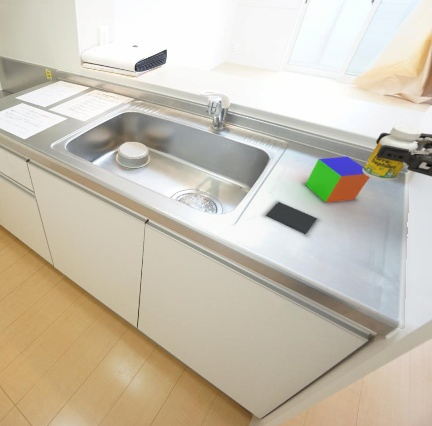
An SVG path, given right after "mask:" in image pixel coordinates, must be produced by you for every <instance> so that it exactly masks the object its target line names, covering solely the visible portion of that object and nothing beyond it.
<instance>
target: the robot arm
mask: <svg viewBox="0 0 432 426" xmlns="http://www.w3.org/2000/svg"><path fill="white" fill-rule="evenodd" d="M388 135H390V132H389V133H388V132H382V133H380V134H379V136H378V137H377V139H376V141H375V142H376V145H378V143H379V141H380V140H381V139H382V138H383V137H385V136H388ZM415 141H416V142H417V145H418V147H417V149H416V150H411V151H410V152H409V149H404V148H398V147H393V146H387V145H383V146H382V147H381V148H380V149H379V151H378V152H377V157H379V158H384V159H389V160H394V161H399V162H402V164H403V165H404V166H406V167H407V168H406V169H407V170H408V171H410V172H414V173H418V174H421V175H425V176H428V177H432V133H423V132H422V134H421V135H420V137H419V138H418V139H417V140H415ZM423 149H424V150H423Z"/></svg>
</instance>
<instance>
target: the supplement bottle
mask: <svg viewBox="0 0 432 426" xmlns="http://www.w3.org/2000/svg"><path fill="white" fill-rule="evenodd" d="M422 133H423V130H422V129H420V128H419V127H415V126H412V125H406V124H396V125H394V126H393V127H392V128H391V130H390V131H389V134H390V135H388V136H385V137H383V138H382V139H381V140H380V141H379V143H378V144H376V146H375V148H374V149H373V151H372V152H371V154H370V156H369V157H368V159H367V160H366V162H365V163H364V166H363V169H362V170H363V173H364V174H365V175H367V176H369V177H370V178H371V179H372V180H377V181H383V182H390V181H394V180H395V179H396V178H397V176H398V175H399V174H400V172H401V171H402V169H403V168H404V167H405V165H403V164H402V162H399V161H394V160H389V159H384V158H379V157H377V152H378V151H379V149H380V148H381V147H382V146H383V145H387V146H393V147H398V148H404V149H409V152H410V151H411V150H416V149H417V147H418V145H417V143H418V142H416V141H415V140H417V139H418V138H419V137H420V135H421V134H422ZM370 178H369V179H370Z"/></svg>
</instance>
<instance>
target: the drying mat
mask: <svg viewBox="0 0 432 426" xmlns="http://www.w3.org/2000/svg"><path fill="white" fill-rule="evenodd" d="M266 217H267V218H270V219H272V220H275V221H276V222H279V223H281V224H283V225H285V226H287V227H289V228H291V229H294V230H295V231H298V232H300V233H302V234H304V235H306V234H307V233H308V232H309V230H310V229H311V228H312V226H313V225H314V224H315V222H316V221H317V220H318V218H317V217H315V216H313V215H310V214H308V213H306V212H304V211H301V210H299V209H297V208H294V207H292V206H289V205H287V204H285V203H283V202H280V201H278V202H277V203H275V205H274V206H273V207H272V208H271V209H270V210H269V211H268V212H267V213H266Z"/></svg>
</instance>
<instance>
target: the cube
mask: <svg viewBox="0 0 432 426" xmlns="http://www.w3.org/2000/svg"><path fill="white" fill-rule="evenodd" d="M363 167H364V166H363V165H361V164H359V163H358V162H357V161H355V160H353V159H352V158H351V157H350V156H340V157H339V156H338V157H327V158H318V159H317V161H316V163H315V165H314V167H313V169H312V171H311V173H310V175H309V177H308V178H307V181H306V183H305V184H304V185H305V186H306V187H307V188H309V189H310V190H311V191H312V192H313V193H314V194H315V195H316V196H318V197H319V198H320V199H321V200H322V201H323V202H324V203H333V202H342V201H351V200H352V201H353V200H354V201H355V200H356V199H357V197H358V195H359V194H360V192H361V190H363V188H364V187H365V185H366V183H367V182H368V181H369V180H370V177H369V176H367V175H365V174H364V173H363V170H362V169H363Z"/></svg>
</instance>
